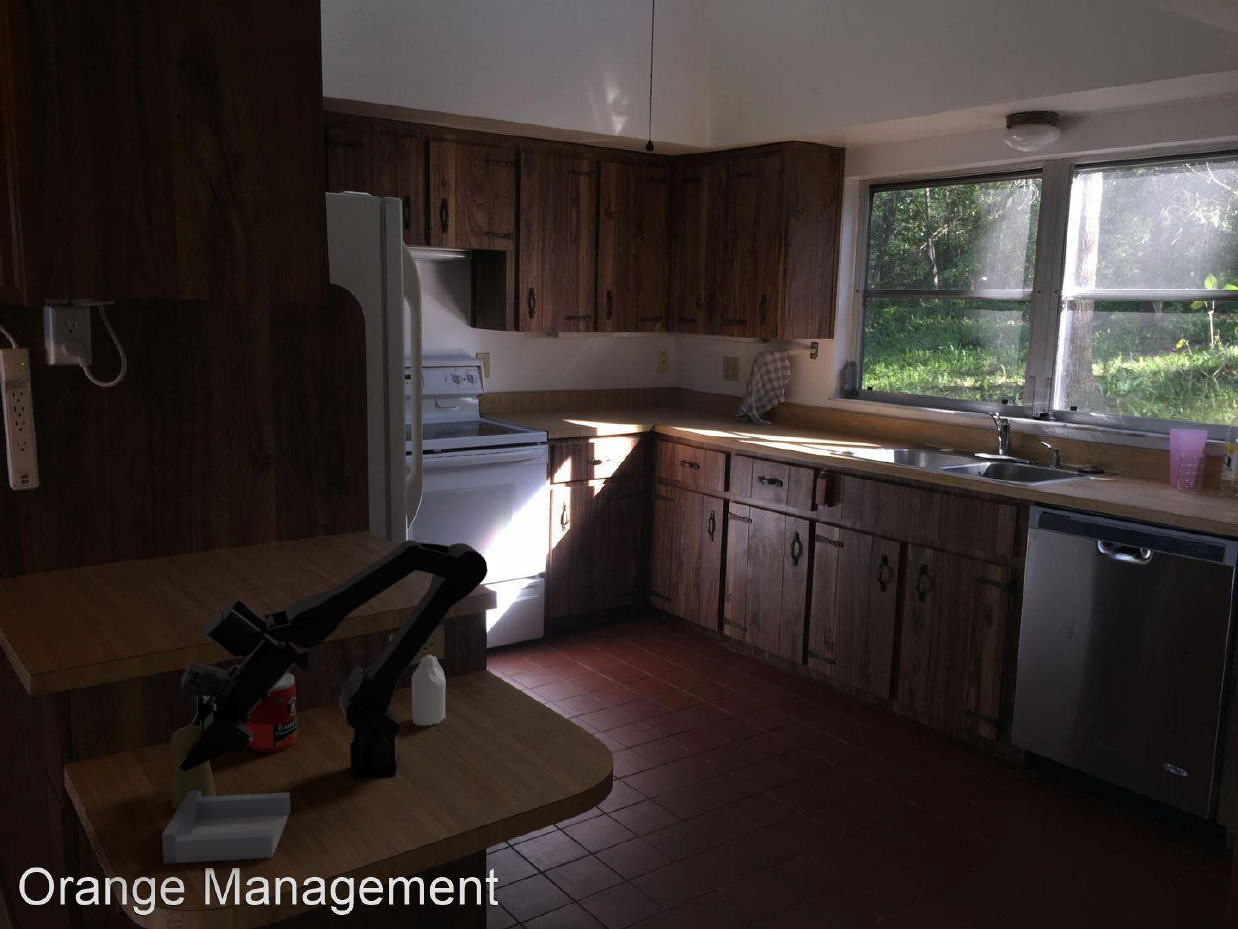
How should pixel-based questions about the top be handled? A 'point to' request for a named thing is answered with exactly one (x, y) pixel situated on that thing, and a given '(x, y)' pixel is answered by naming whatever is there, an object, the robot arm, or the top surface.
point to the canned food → (275, 719)
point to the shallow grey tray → (225, 827)
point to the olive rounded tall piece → (193, 777)
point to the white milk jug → (428, 692)
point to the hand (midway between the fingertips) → (181, 759)
